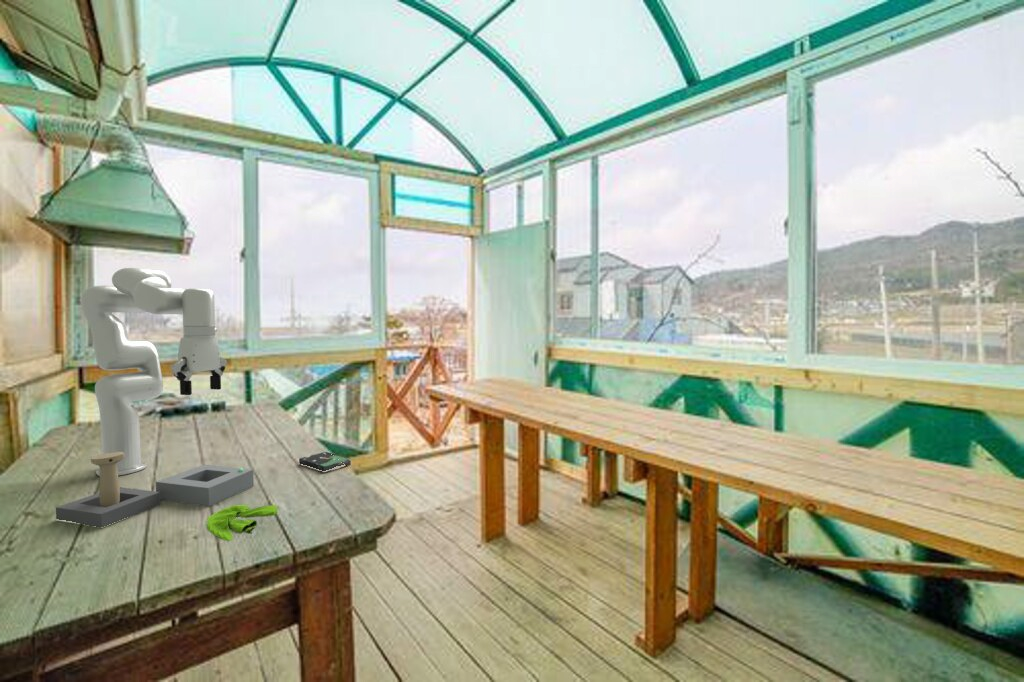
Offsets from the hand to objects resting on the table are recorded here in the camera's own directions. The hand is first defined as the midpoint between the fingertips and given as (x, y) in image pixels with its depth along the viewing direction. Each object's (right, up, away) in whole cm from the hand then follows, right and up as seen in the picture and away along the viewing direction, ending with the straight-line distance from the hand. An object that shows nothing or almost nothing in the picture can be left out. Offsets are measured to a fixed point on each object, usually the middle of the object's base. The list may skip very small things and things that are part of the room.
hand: (201, 391), depth 131 cm
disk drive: (+25, -29, +25) cm, 46 cm away
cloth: (+23, -31, -17) cm, 42 cm away
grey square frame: (-14, -30, -13) cm, 36 cm away
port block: (+1, -29, 0) cm, 29 cm away
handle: (-14, -30, -13) cm, 36 cm away
